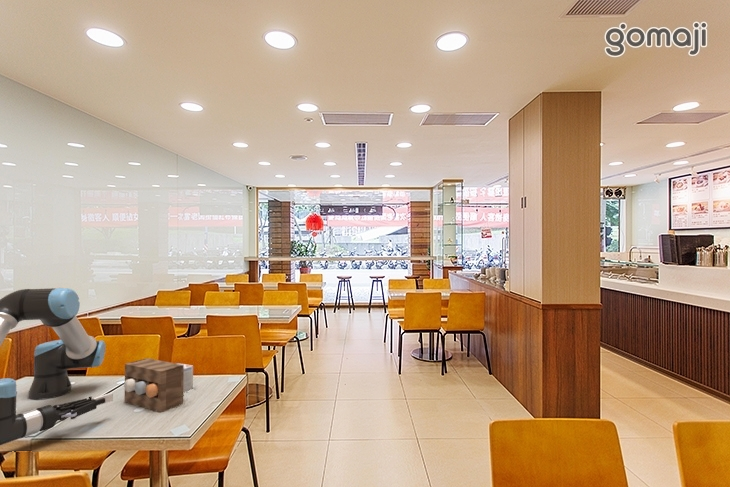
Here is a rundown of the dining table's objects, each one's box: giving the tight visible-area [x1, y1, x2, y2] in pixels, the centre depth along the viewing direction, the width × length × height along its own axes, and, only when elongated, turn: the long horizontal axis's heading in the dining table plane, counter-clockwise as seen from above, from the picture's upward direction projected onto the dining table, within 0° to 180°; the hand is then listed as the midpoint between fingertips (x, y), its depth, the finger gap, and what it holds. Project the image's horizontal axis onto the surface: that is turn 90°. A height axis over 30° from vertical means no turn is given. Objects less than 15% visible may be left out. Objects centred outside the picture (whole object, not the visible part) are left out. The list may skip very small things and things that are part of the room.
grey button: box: [135, 380, 154, 395], centre depth 161 cm, size 5×8×5 cm, turn 153°
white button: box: [123, 378, 137, 392], centre depth 164 cm, size 5×8×5 cm, turn 153°
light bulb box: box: [175, 362, 194, 393], centre depth 180 cm, size 11×7×11 cm, turn 67°
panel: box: [124, 357, 184, 413], centre depth 163 cm, size 24×10×16 cm, turn 63°
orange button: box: [145, 383, 158, 398], centre depth 158 cm, size 5×8×5 cm, turn 153°
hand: (111, 396), depth 148 cm, fingers closed
